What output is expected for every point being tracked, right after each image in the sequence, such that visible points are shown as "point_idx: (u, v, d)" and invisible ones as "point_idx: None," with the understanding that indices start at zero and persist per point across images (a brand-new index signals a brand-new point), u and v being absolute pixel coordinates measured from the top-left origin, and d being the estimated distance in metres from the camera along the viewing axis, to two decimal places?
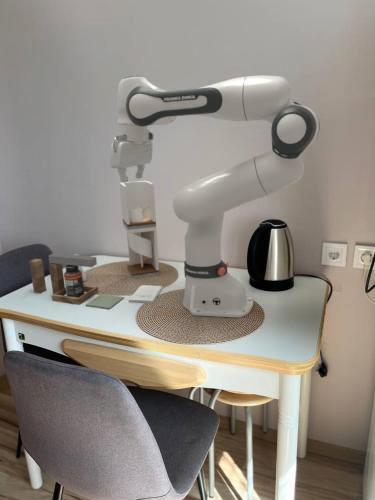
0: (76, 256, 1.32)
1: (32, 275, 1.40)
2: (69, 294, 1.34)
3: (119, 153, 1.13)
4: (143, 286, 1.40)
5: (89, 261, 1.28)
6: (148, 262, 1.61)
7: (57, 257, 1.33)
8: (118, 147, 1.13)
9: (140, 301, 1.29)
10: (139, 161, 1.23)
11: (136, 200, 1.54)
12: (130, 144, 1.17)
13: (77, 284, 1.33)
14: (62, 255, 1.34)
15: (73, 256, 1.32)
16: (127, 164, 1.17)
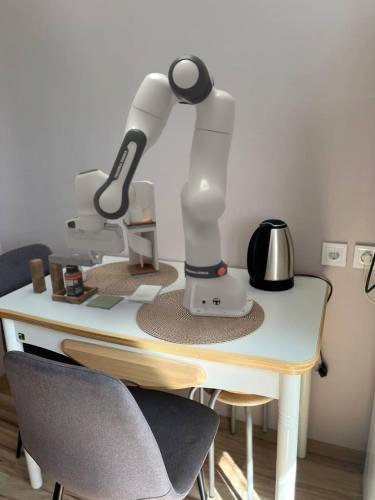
0: (76, 256, 1.32)
1: (32, 275, 1.40)
2: (69, 294, 1.34)
3: (123, 237, 1.24)
4: (143, 286, 1.40)
5: (89, 261, 1.28)
6: (148, 262, 1.61)
7: (57, 257, 1.33)
8: None
9: (139, 301, 1.30)
10: None
11: (136, 200, 1.54)
12: None
13: (77, 284, 1.33)
14: (62, 255, 1.34)
15: (73, 256, 1.32)
16: None
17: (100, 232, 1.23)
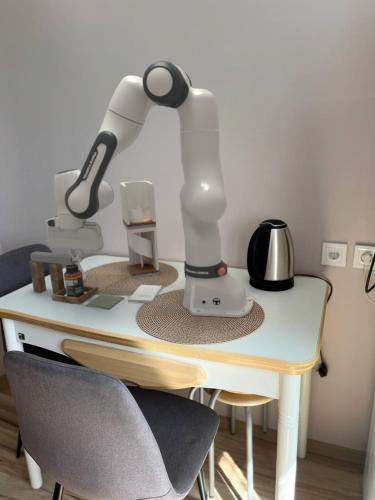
0: (57, 254, 1.35)
1: (32, 275, 1.40)
2: (69, 294, 1.34)
3: None
4: (143, 286, 1.40)
5: (69, 259, 1.31)
6: (148, 262, 1.61)
7: (38, 255, 1.36)
8: None
9: (139, 301, 1.30)
10: None
11: (136, 200, 1.54)
12: None
13: (77, 284, 1.33)
14: (43, 253, 1.37)
15: (54, 254, 1.35)
16: None
17: (79, 230, 1.26)
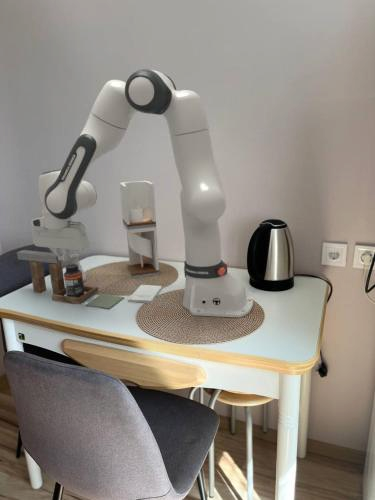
0: (43, 253, 1.37)
1: (32, 275, 1.40)
2: (69, 294, 1.34)
3: (86, 235, 1.29)
4: (143, 286, 1.41)
5: (54, 257, 1.33)
6: (148, 262, 1.61)
7: (25, 254, 1.38)
8: None
9: (139, 301, 1.30)
10: None
11: (136, 200, 1.54)
12: None
13: (77, 284, 1.33)
14: (30, 252, 1.39)
15: (40, 253, 1.37)
16: None
17: (64, 230, 1.28)
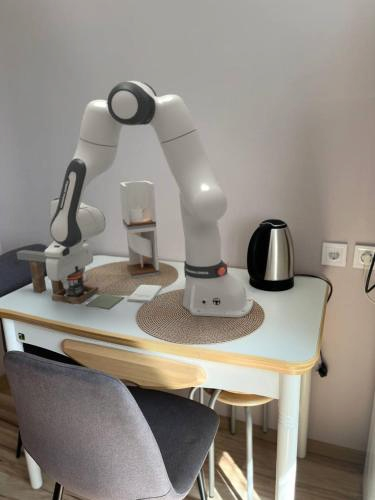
0: (42, 253, 1.37)
1: (32, 275, 1.40)
2: (69, 294, 1.34)
3: None
4: (143, 286, 1.41)
5: None
6: (148, 262, 1.61)
7: (24, 254, 1.38)
8: None
9: (138, 300, 1.30)
10: None
11: (136, 200, 1.54)
12: None
13: (77, 284, 1.33)
14: (29, 252, 1.39)
15: (39, 253, 1.37)
16: None
17: (81, 249, 1.35)
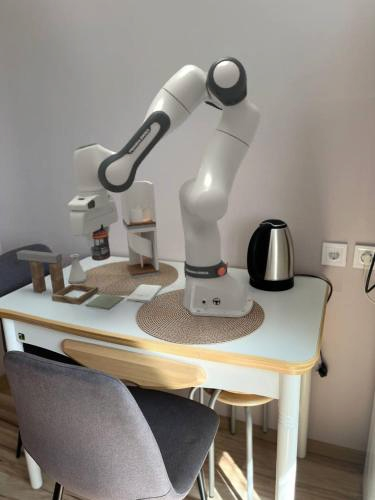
0: (42, 253, 1.37)
1: (32, 275, 1.40)
2: (94, 255, 1.24)
3: None
4: (143, 285, 1.41)
5: (54, 257, 1.33)
6: (148, 262, 1.61)
7: (24, 254, 1.38)
8: None
9: (137, 300, 1.30)
10: None
11: (136, 200, 1.54)
12: None
13: (103, 244, 1.23)
14: (29, 252, 1.39)
15: (39, 253, 1.37)
16: None
17: (106, 205, 1.25)
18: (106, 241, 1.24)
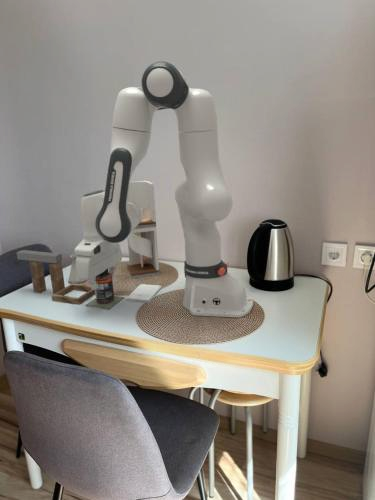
0: (42, 253, 1.37)
1: (32, 275, 1.40)
2: (99, 298, 1.28)
3: None
4: (142, 285, 1.41)
5: (54, 257, 1.33)
6: (148, 262, 1.61)
7: (24, 254, 1.38)
8: None
9: (137, 300, 1.30)
10: None
11: (136, 200, 1.54)
12: None
13: (107, 288, 1.27)
14: (29, 252, 1.39)
15: (39, 253, 1.37)
16: None
17: (110, 247, 1.29)
18: (110, 285, 1.28)
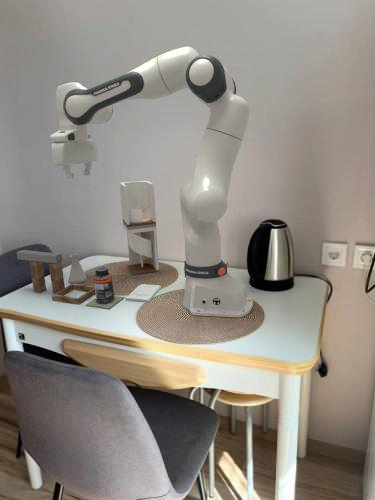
0: (42, 253, 1.37)
1: (32, 275, 1.40)
2: (99, 298, 1.28)
3: None
4: (142, 285, 1.41)
5: (54, 257, 1.33)
6: (148, 262, 1.61)
7: (24, 254, 1.38)
8: None
9: (136, 300, 1.31)
10: None
11: (136, 200, 1.54)
12: None
13: (107, 288, 1.27)
14: (29, 252, 1.39)
15: (39, 253, 1.37)
16: None
17: (86, 142, 1.36)
18: (111, 285, 1.28)
